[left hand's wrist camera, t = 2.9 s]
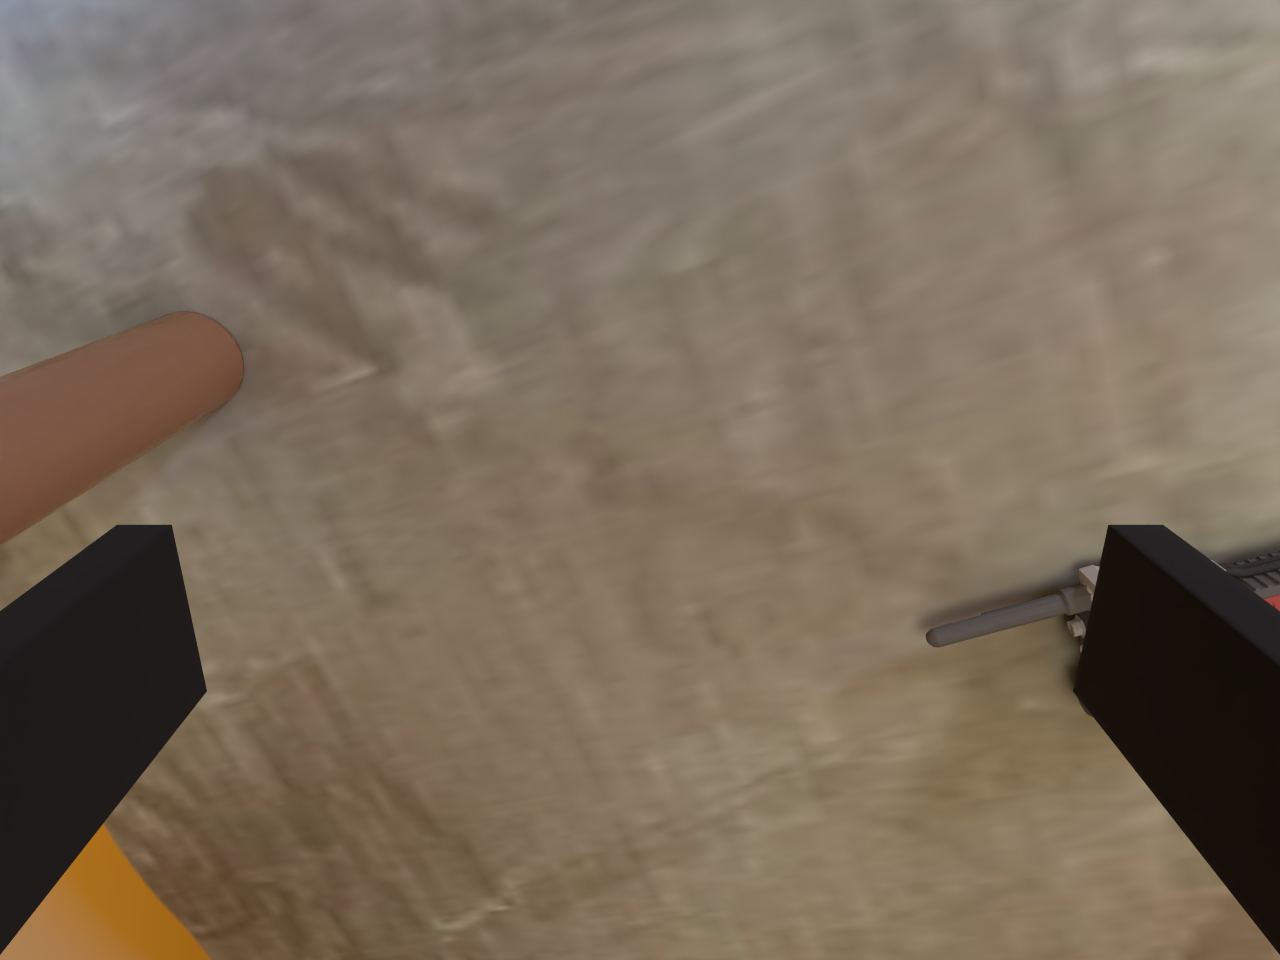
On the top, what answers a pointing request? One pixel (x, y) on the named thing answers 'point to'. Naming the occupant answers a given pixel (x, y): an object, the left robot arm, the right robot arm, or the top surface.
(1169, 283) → the top surface
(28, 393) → the brown cylinder
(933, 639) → the walkie-talkie
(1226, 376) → the top surface
